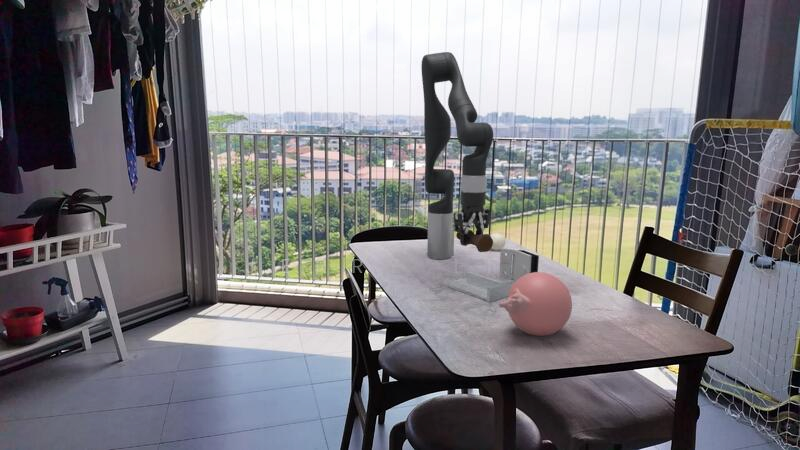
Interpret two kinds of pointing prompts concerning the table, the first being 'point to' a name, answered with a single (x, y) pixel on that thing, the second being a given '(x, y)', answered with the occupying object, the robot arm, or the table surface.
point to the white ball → (498, 241)
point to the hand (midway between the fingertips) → (471, 243)
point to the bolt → (479, 241)
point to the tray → (480, 286)
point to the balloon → (538, 304)
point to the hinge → (517, 263)
